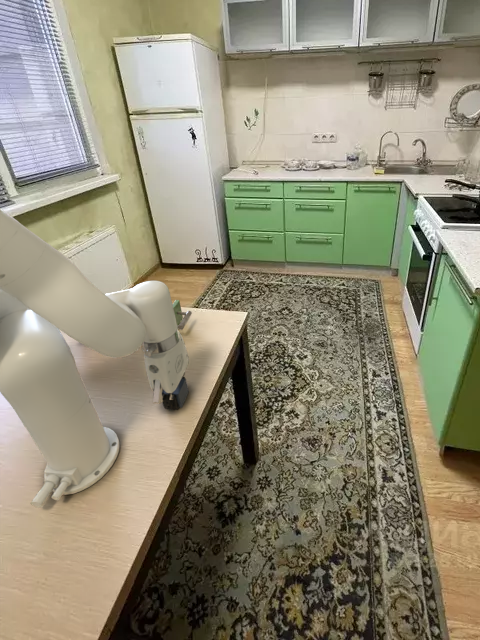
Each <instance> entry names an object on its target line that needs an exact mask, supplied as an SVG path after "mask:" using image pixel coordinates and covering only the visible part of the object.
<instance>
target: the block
mask: <svg viewBox="0 0 480 640" xmlns="http://www.w3.org/2000/svg"><path fill="white" fill-rule="evenodd" d="M164 393H167V392H165V390H164ZM173 393H174V395H176V398H177V402H178V406H179V408H181V409H182V408H183V406H184V404H185V402H186V399H187V397H188V395H189V393H190V390H189V386H188V382H187V378H185V379H183V378H181V380H180V382H179V384H178V386H177V388H176V390H175V391H174V392H173ZM161 404H162V406H163V407H164V405H163V402H162V403H161Z"/></svg>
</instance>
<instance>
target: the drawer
mask: <svg viewBox="0 0 480 640" xmlns="http://www.w3.org/2000/svg"><path fill="white" fill-rule="evenodd" d="M172 305H173V309H174V313H175V318H176V322H177V327H178V330H180V331H183V329H185V326H186V324H187V323H188V321H189V320H190V317H191V316H192V314H193V312H192V311H191V310H187V311H183V310H182V307H181V303H180V299H175V300H174V302H172Z"/></svg>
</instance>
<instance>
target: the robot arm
mask: <svg viewBox="0 0 480 640" xmlns="http://www.w3.org/2000/svg"><path fill="white" fill-rule="evenodd" d="M63 333H64V334H65V335H66V336H68V337H70V338H71V339H73V340H74V341H76V342H78V343H79V344H81V345H83V346H84V347H87V348H89V349H91V350H93V351H94V352H96V353H98V354H101V355H102V356H105V357H108V358H112V359H120V358H125V357H128V356H131V355H133V354H134V353H135V352H137V351H138V350H139V349H140V348H141V349H142V352H143V357H144V365H145V371H146V376H147V381H148V384H149V387H150V389H151V391H152V392H153V399H152V404H154V405H160V404H162V406H163V405H164V406H163V408H164V410H168V411H172V410H179V408H180V407H179V406H178V402H177V398H176V395H174V393H173V392H174V391H175V390H176V388H177V386H178V384H179V382H180V380H181V378H183V379H186V377H185V375H186V370H187V368H188V365H189V362H190V358H189V354H188V351H187V347H186V344H185V341H184V338H183V336H182V334H181V331H179V329H178V327H177V322H176V318H175V313H174V309H173V301H172V297H171V291H170V289H169V286H168V285H167V284H166V283H165V282H163V281H160V280H147V281H143V282H140V283H138V284H136V285H135V286H133V287H131V288H128V289H123V290H118V291H114V292H107V293H104V292H103V291H101V289H99V288H98V287H97V286H96V285H95V284H94V283H93V282H91V281H90V280H89V279H88V278H87V277H86V275H85V274H84V273H82V271H81V270H80V269H79V268H78V267H77V266H76V264H75V263H73V262H72V261H71V259H69V258H68V257H67V256H65V254H63V253H62V252H61V251H59V250H58V249H56V248H55V247H54V246H52V245H51V244H50V243H48V242H46V240H44V239H42V238H41V237H39V235H37V234H36V233H34V232H33V231H32V230H30V229H29V228H27V227H26V226H25V225H23V224H22V223H20V222H19V221H18V220H17V219H15V218H14V217H13V216H11V215H10V214H9V213H8V212H7V211H6V210H4V209H2V208H1V207H0V394H1V396H3V397H4V399H5V400H6V401H7V402H8V404H9V405H10V406H11V407H12V409H13V410H14V413H16V415H17V417H18V418H19V420H20V422H21V423H22V425H23V426H24V428H25V429H26V431H27V432H28V433H29V434H28V435H29V436H30V437H31V439H32V440H33V442H34V444H35V446H36V447H37V449H38V451H39V452H40V454H41V455H42V457H43V459H44V460H45V462H46V466H45V469H44V470H43V472H44V474H43V478H44V480H43V486H42V487H40V490H38V491H37V493H36V494H35V495H34V496H33V499H32V500H31V501H30V505H31V506H32V507H34V508H37V509H41V508H42V507H43V506H44V505H45V504H46V502H47V500H48V498H49V497H50V495H51V493H53V494H52V495H51V499H52V500H54V501H59V500H61V498H62V496H63V495H64V496H67V495H72V494H73V495H74V494H76V493H79V492H82V491H84V490H86V489H88V488H90V487H91V486H93V485H94V484H95V483H97V482H99V480H101V479H102V478H103V477H104V476H105V475H106V474H107V473H108V472H109V470H110V469H111V468H112V466H113V465H114V463H115V461H116V459H117V457H118V455H119V452H120V439H119V437H118V435H117V433H116V432H115V431H114V430H113V429H112V428H110V427H106V426H104V425H103V423H102V421H101V419H100V417H99V414H98V412H97V409H96V408H95V406H94V403H93V401H92V397H90V394H89V392H88V389H87V387H86V386H85V383H84V381H83V378H82V376H81V373H80V372H79V368H78V366H77V363H76V360H75V357H74V354H73V352H72V351H71V348H70V346H69V344H68V342H67V341H66V339H65V338H64V335H63ZM164 390H165V392H167V393H164ZM162 402H163V403H162Z"/></svg>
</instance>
